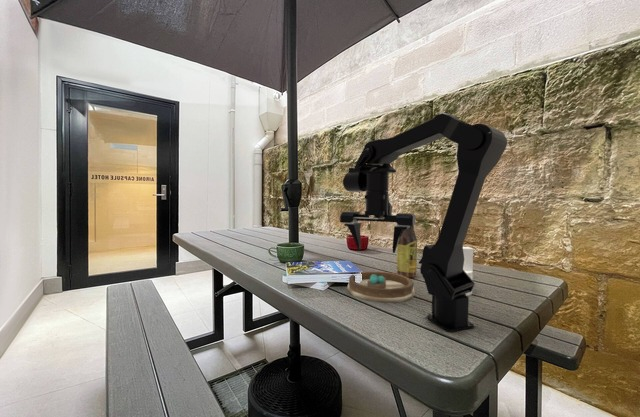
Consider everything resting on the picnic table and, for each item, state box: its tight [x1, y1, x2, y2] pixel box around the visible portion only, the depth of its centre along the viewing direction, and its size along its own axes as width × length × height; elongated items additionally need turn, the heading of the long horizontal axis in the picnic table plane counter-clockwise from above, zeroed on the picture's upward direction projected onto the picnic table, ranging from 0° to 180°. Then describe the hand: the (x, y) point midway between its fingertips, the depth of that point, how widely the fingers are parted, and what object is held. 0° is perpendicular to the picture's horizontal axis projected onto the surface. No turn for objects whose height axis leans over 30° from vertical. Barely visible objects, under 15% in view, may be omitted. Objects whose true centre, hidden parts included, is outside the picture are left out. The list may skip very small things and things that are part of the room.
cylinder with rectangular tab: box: [463, 246, 474, 297], centre depth 76 cm, size 9×9×12 cm
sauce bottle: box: [396, 225, 418, 279], centre depth 90 cm, size 7×6×20 cm
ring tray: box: [347, 270, 415, 304], centre depth 76 cm, size 18×18×4 cm
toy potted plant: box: [367, 274, 385, 288], centre depth 71 cm, size 4×4×4 cm
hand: (376, 251), depth 71 cm, fingers open, 9 cm apart
